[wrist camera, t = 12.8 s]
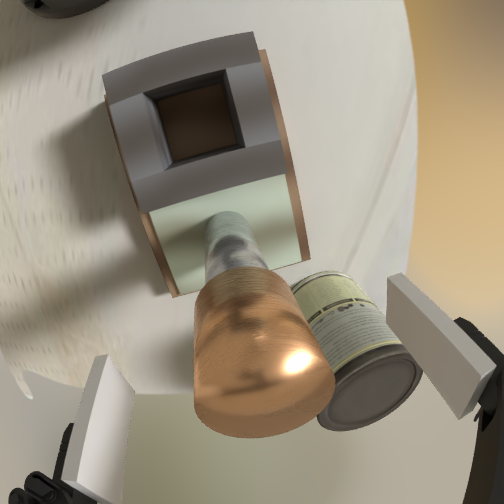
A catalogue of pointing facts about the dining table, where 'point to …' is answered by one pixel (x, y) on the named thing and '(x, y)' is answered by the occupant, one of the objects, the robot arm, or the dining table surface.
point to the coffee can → (356, 352)
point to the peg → (252, 342)
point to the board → (206, 153)
